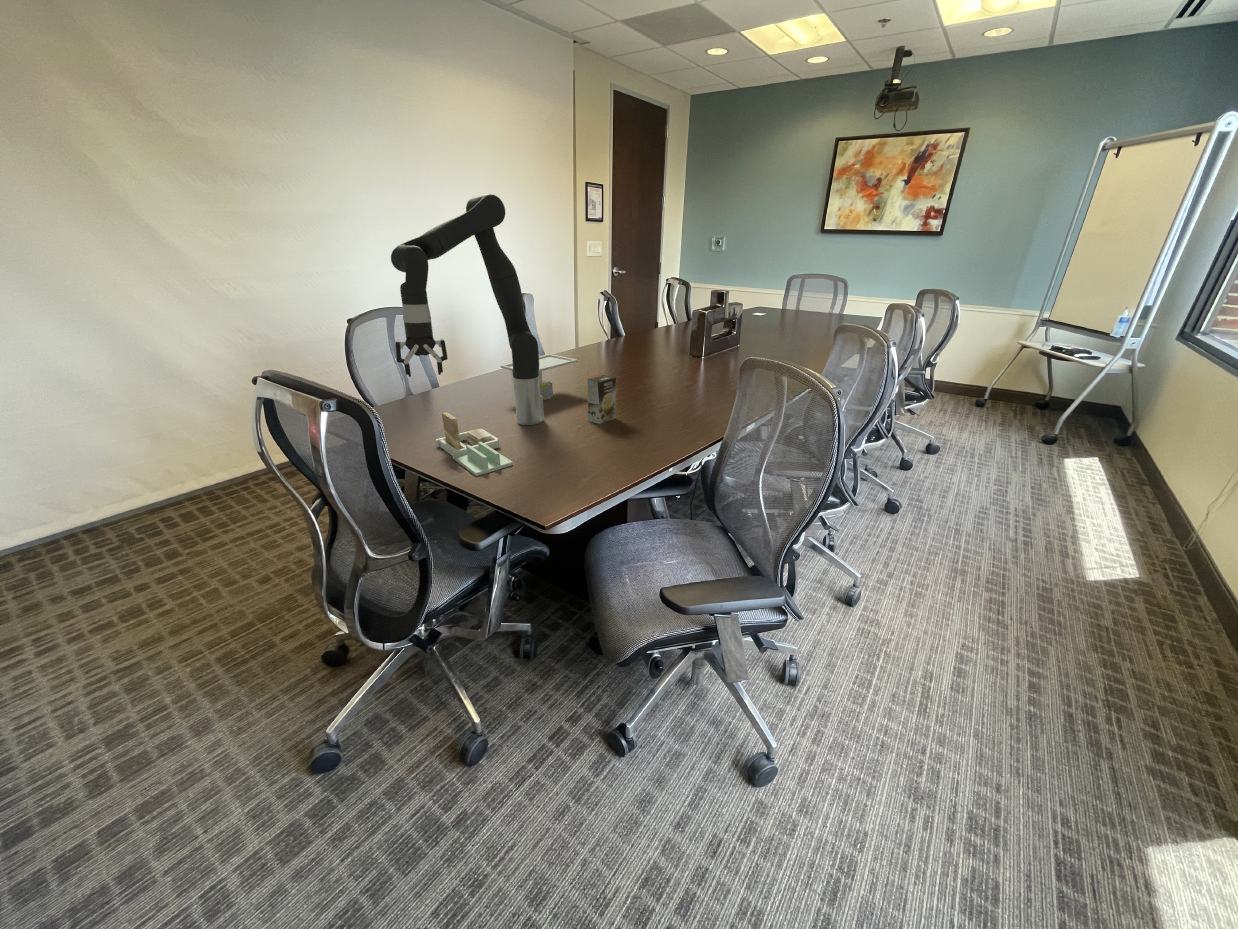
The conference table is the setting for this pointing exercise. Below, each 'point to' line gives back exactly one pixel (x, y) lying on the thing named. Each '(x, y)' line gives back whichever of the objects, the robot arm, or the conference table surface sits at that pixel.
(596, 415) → the coffee box
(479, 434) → the offcut stack
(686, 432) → the conference table surface
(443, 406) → the conference table surface
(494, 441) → the rack
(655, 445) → the conference table surface
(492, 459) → the stand
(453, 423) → the wooden board
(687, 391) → the conference table surface
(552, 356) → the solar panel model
